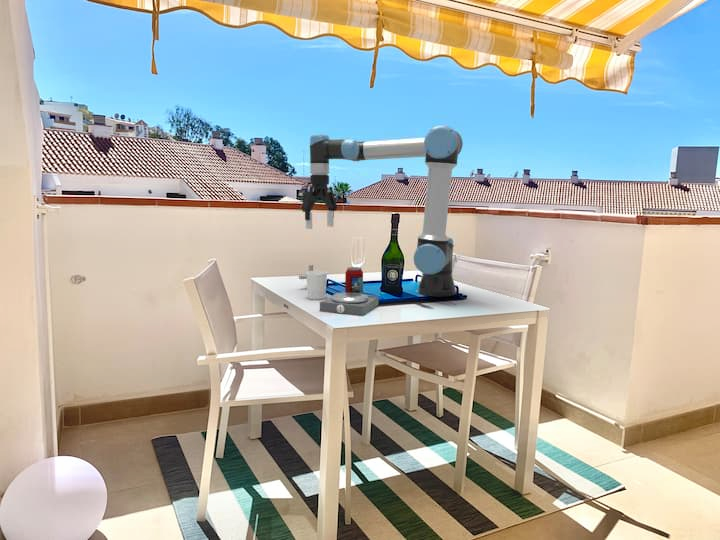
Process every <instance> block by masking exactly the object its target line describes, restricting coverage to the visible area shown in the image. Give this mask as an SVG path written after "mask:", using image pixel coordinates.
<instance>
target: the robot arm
mask: <svg viewBox="0 0 720 540" xmlns="http://www.w3.org/2000/svg"><path fill="white" fill-rule="evenodd" d="M309 137H310V138H309V154H310V155H309V164H310V165H309V166H310V169H309V171H310V174H311V175H310V176H309V177H310V178H309V183H310V185H311V186H306V188H305V195H304V197H303V201H302V204H301V208H300V210H301V211H302V212H303V213H304V221H305V229H309V230H313V212H311V211H312V209H313V208H314V206H315V203H316V201H317V200H318V199H322V201H323V202H324V204H325V206H326V207H327V211H326V213H327V214H326V216H327V218H326V224H327V225H326V227H330V228H331V227H332V228H334V219H335V218H334V217H335V212H336V211H337V209H338V206H337V205H338V204H337V201H336V199H335V198H336V197H335V195H334V190H333V186H328V185H330V176H329V175H328V174H330V160H347V161H352V162H360V161H369V160H370V161H371V160H373V161H374V160H390V159H391V160H392V159H407V158H408V159H409V158H425V159H424V164H425V165H426V166H427V168H428V171H427V182H426V193H425V203H424V205H425V206H424V214H423V223H422V225H423V226H422V233H420V234H419V235H418V237H417V245H416V249H415V251H414V253H413V263H414V265H415V268H416V269H417V270H418V271H420V272H421V274H422V275H421V278H420V281H419V285H418V288H417V292H418V294H420V295H423V296H429V297H451V296H454V295H456V285H455V282H454V279H453V261H454V260H453V258H454V257H453V254H454V239H453V238H452V237H448V236H447V235H446V232H447V222H448V212H449V204H450V195H451V194H450V193H451V182H452V175H453V170H454V168H456V167H457V165H458V159H459V157H458V156H459V154H460V153H461V152H462V150H463V143H464V142H463V137H462V136H461V134H460V133H459V132H458V131H457V130H455V129H454V128H453V127H452V126H449V125H444V124H443V125H442V124H441V125H437V126H434V127H432V128H430V129H429V131H428V132H427V133H426V134H425V137H423V136H421V137H411V138H410V137H409V138H396V139H382V140H369V141H368V140H365V141H357V139H354V138H353V139H352V138H345V139H344V138H343V139H330V136H329V135H328V134H322V133H321V134H319V133H317V134H316V133H314V134H312V135H310V136H309Z"/></svg>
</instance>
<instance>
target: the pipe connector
mask: <svg viewBox="0 0 720 540" xmlns="http://www.w3.org/2000/svg"><path fill="white" fill-rule="evenodd" d="M309 271H314V264H308V272H309ZM298 279H299V280H307V276H306V273H305V274H299V275H298Z"/></svg>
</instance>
